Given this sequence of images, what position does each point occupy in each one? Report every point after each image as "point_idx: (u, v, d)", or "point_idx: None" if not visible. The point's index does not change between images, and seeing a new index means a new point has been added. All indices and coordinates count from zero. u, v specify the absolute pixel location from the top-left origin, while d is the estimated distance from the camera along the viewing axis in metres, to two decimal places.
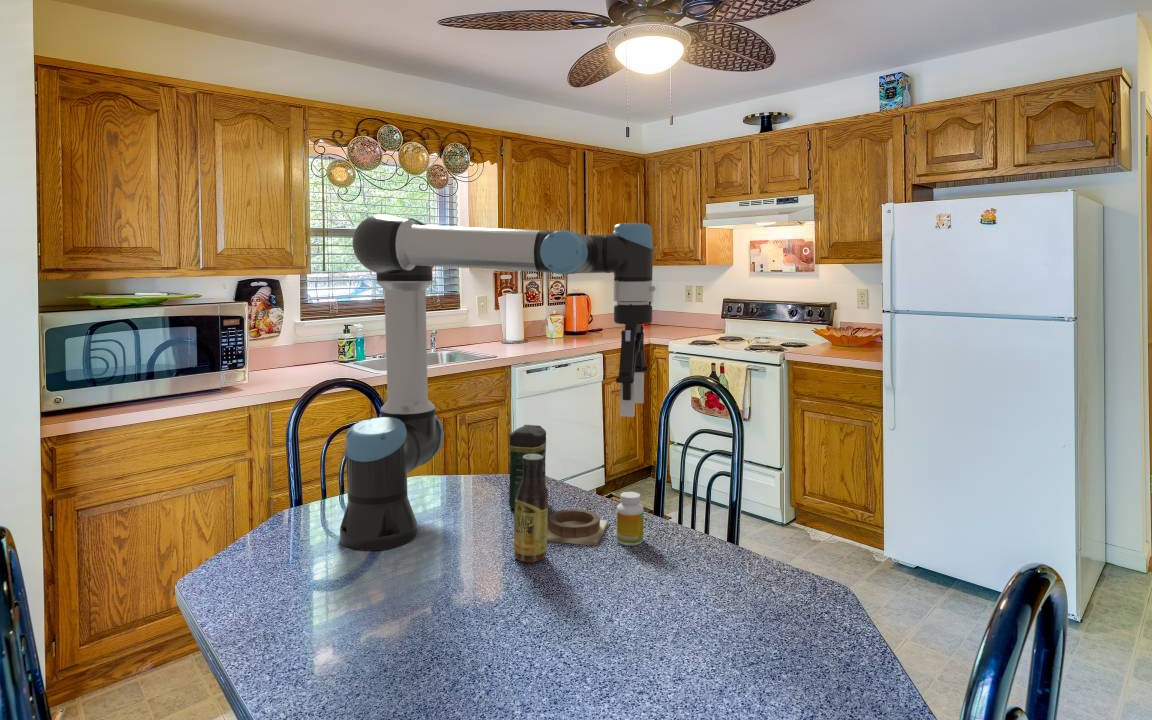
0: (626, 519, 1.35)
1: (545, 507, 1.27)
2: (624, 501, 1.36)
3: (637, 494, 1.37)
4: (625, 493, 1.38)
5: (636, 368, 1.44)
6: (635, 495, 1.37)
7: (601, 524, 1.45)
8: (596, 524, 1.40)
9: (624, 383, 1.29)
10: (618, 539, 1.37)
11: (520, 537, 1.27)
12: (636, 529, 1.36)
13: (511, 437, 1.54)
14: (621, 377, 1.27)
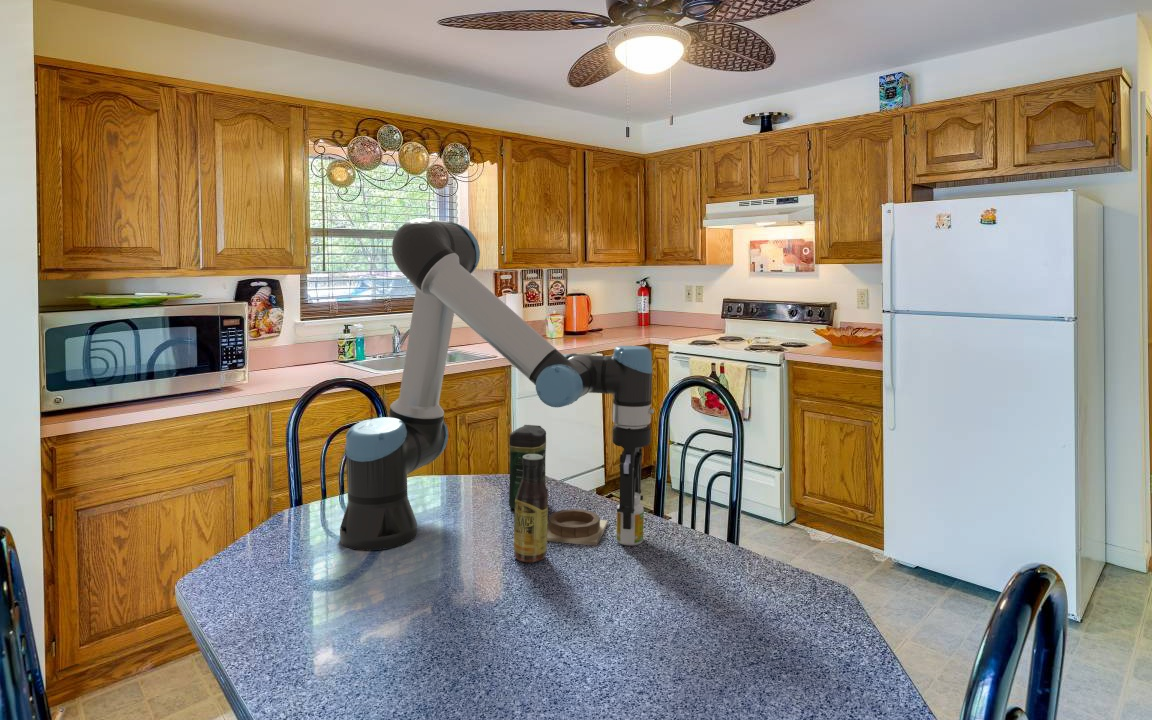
0: None
1: (545, 507, 1.27)
2: None
3: (637, 494, 1.37)
4: None
5: None
6: (635, 495, 1.37)
7: (601, 524, 1.45)
8: (596, 524, 1.40)
9: (624, 513, 1.33)
10: (618, 539, 1.37)
11: (520, 537, 1.27)
12: (636, 529, 1.36)
13: (511, 437, 1.54)
14: (622, 509, 1.31)
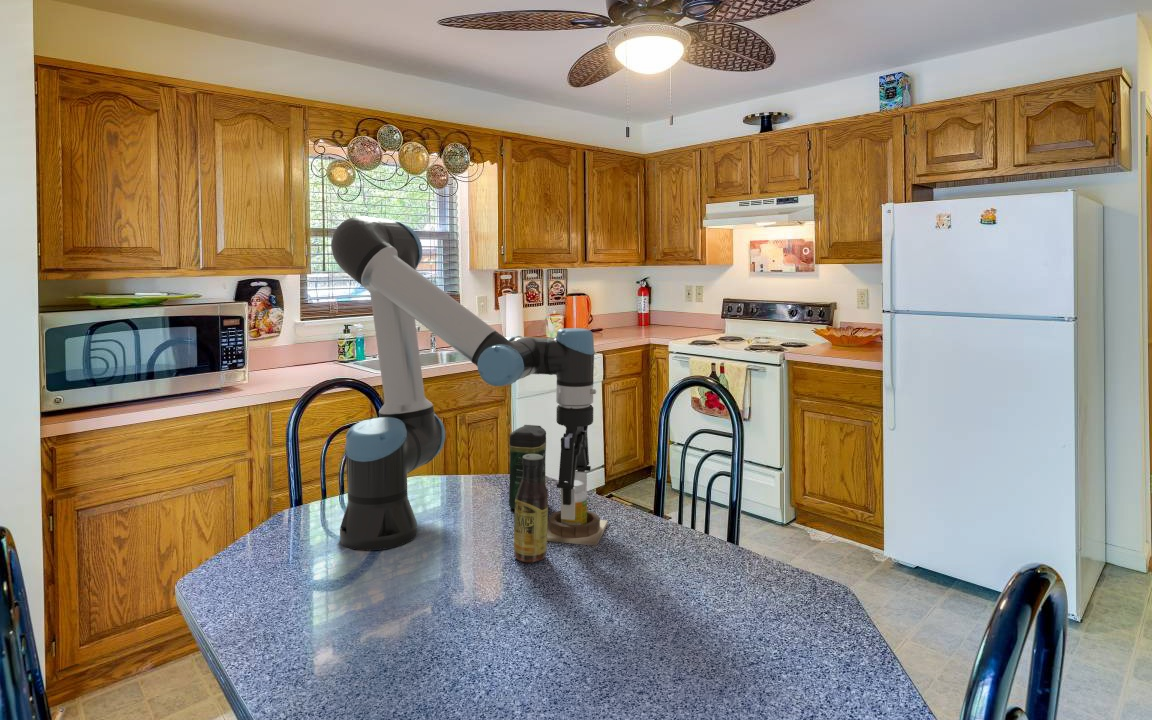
0: None
1: (545, 507, 1.27)
2: None
3: (580, 482, 1.42)
4: None
5: (579, 467, 1.47)
6: (578, 483, 1.42)
7: (601, 524, 1.45)
8: (596, 524, 1.40)
9: (564, 489, 1.35)
10: None
11: (520, 537, 1.27)
12: (579, 516, 1.40)
13: (511, 437, 1.54)
14: (560, 484, 1.33)
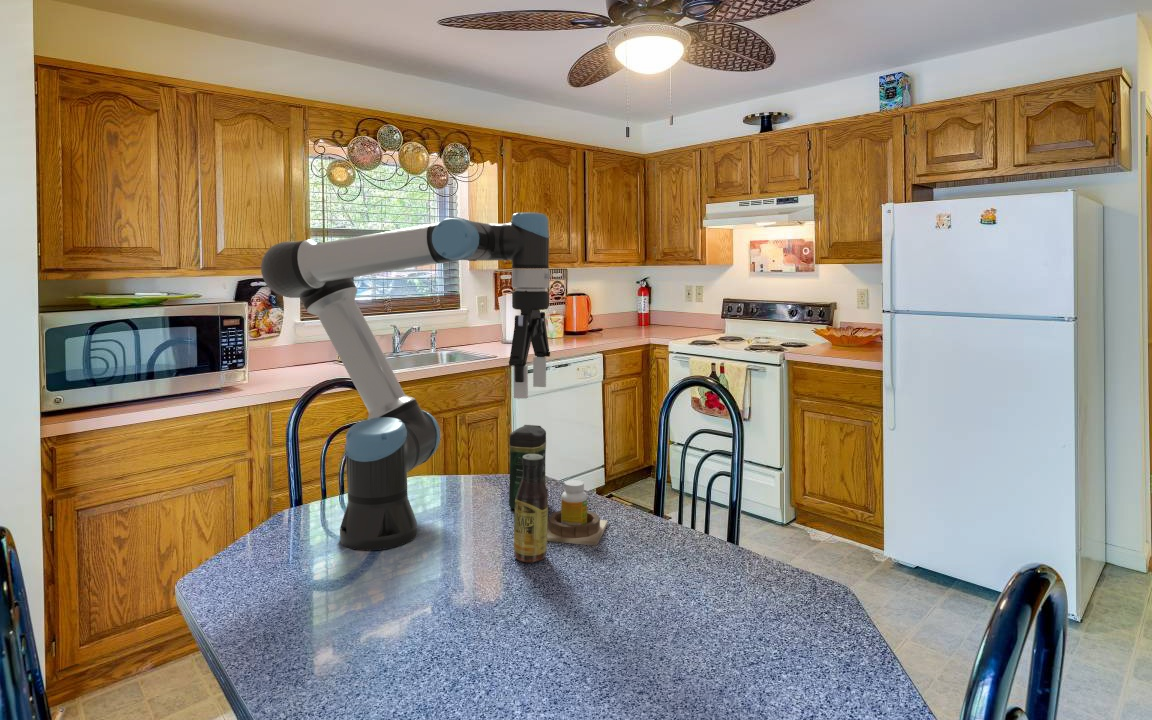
0: (569, 506, 1.40)
1: (545, 507, 1.27)
2: (568, 489, 1.40)
3: (581, 482, 1.42)
4: (569, 481, 1.43)
5: (539, 353, 1.49)
6: (578, 483, 1.42)
7: (601, 524, 1.45)
8: (596, 524, 1.40)
9: (516, 366, 1.34)
10: None
11: (520, 537, 1.27)
12: (579, 516, 1.40)
13: (511, 437, 1.54)
14: (512, 360, 1.33)
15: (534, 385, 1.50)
